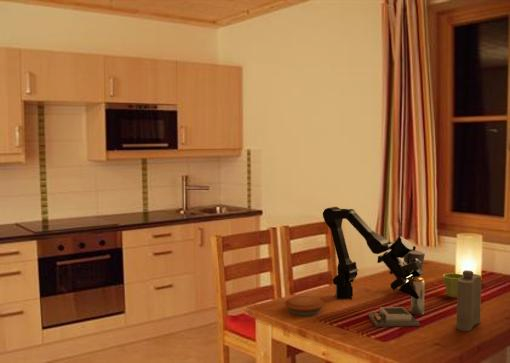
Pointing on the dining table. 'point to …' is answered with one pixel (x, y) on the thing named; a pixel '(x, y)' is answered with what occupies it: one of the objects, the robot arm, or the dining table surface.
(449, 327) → the dining table surface
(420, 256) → the moka pot
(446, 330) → the dining table surface
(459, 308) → the flask
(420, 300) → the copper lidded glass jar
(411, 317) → the dock
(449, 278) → the plant pot
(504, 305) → the dining table surface
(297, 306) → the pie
